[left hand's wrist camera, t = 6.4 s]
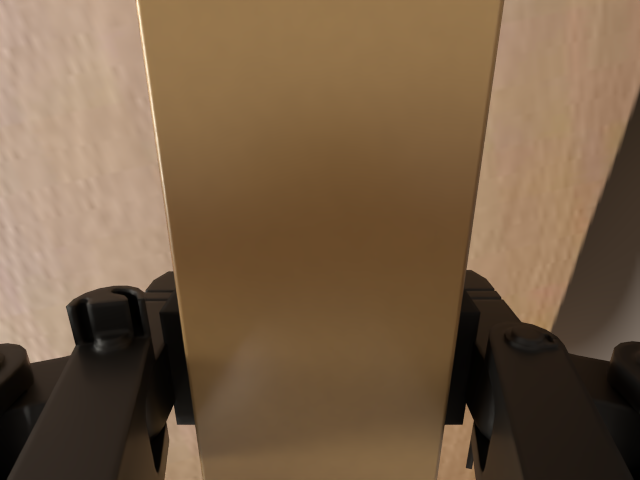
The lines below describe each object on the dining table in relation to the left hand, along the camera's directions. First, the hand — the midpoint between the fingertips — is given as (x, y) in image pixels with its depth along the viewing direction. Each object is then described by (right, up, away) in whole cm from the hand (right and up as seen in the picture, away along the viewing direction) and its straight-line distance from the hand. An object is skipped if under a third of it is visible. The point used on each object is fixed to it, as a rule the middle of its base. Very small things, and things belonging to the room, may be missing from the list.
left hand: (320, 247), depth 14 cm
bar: (0, +8, -2) cm, 8 cm away
